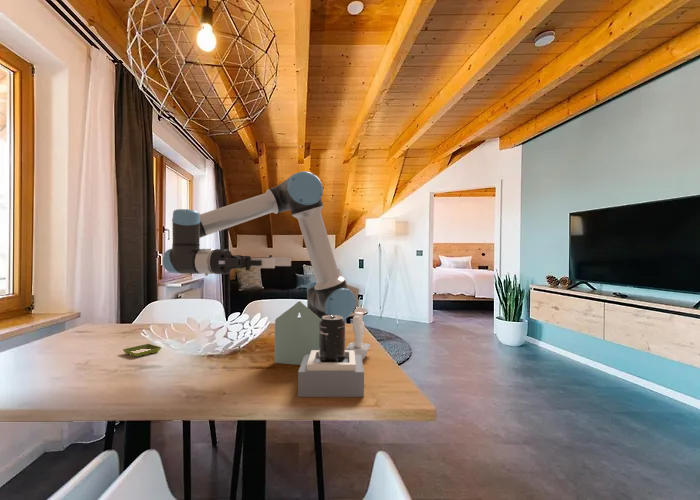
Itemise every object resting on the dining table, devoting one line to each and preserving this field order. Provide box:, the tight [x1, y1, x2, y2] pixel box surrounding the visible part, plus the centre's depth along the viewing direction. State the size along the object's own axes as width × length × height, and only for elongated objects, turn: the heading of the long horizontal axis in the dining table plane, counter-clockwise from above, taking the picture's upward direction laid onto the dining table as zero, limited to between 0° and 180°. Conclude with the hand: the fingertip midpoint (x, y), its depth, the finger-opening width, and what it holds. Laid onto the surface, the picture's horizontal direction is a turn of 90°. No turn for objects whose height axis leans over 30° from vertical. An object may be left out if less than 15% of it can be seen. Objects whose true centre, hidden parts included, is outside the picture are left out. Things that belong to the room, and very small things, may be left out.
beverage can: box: [319, 315, 346, 363], centre depth 89 cm, size 7×7×12 cm
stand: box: [297, 349, 365, 398], centre depth 89 cm, size 14×16×8 cm
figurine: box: [345, 311, 371, 360], centre depth 113 cm, size 7×9×15 cm
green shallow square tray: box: [122, 343, 162, 357], centre depth 116 cm, size 9×9×2 cm
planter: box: [274, 301, 322, 366], centre depth 109 cm, size 16×8×20 cm, turn 78°
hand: (283, 262), depth 98 cm, fingers open, 13 cm apart
